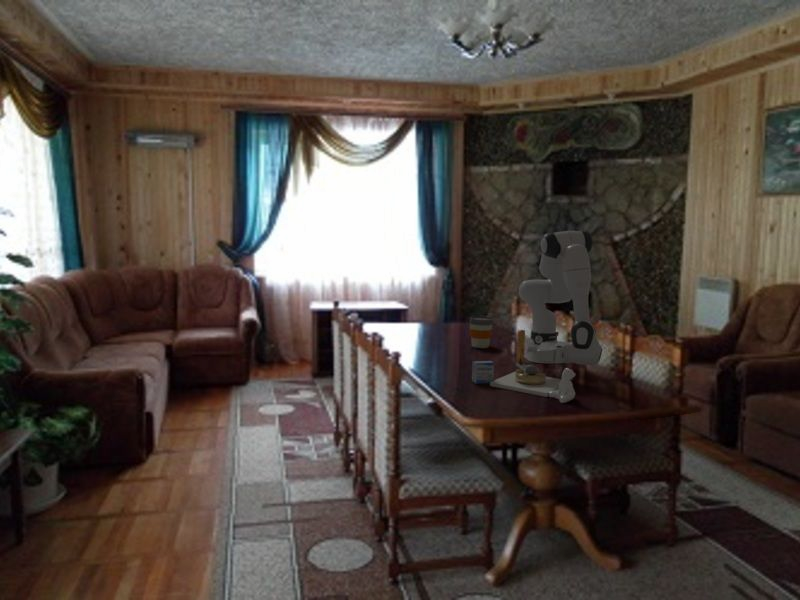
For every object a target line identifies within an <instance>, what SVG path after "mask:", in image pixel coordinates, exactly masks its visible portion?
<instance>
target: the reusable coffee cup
mask: <svg viewBox="0 0 800 600" xmlns="http://www.w3.org/2000/svg"><path fill="white" fill-rule="evenodd" d="M493 325H494V318H493V317H488V316H470V317H469V336H470V339H471V340H470V341H471V347H473V348H477V349H487V348H489V347H490V341H491V339H492V336H493V335H492V334H493Z"/></svg>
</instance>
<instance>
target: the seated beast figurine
mask: <svg viewBox="0 0 800 600" xmlns="http://www.w3.org/2000/svg"><path fill="white" fill-rule="evenodd" d="M562 371H563V372H561V378H560V379H561V382H560V383H559V390H558V391H551V392H549V396H548V397H549V398H551V399H552V398H553V399H555V400H556V399H557V400H559V402H560V404H561V403H562V404H565V403H567V402H570V401H573V400H574V398H575V396H576V395H577V394H576V392H575V388H574V387H573V386H574V384H573V383H572V381H571V380H572V379H573V378H575V377H576V372H574V371H573V369H571V368H569V367H565V368H564V370H562Z"/></svg>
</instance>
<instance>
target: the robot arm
mask: <svg viewBox="0 0 800 600" xmlns="http://www.w3.org/2000/svg"><path fill="white" fill-rule="evenodd" d="M592 248H593V237H592V236H591V234H590V232H588V231H585V230H564V231H556V232H547V233H545V234H543V235H542V237H541V239H540V250H541V257H540V262H539V266H538V269H539V272H540V274H541V275H542V276H543V277H544V278H546V279H529V280H523V281H522V282H521V283H520V285H519V288H518V294H519V297H520V299H521V300H522V301H523V302H524V303H526V305H527V306H528V307H529V309H530V312H531V317H532V324H531V325H532V327H531V329H532V330H531V331H530V340H529V341H528V342H527V346H526V347H527V349H526V354H524V359H526V360H527V361H528V362H532V363H537V364H548V365H549V364H550V365H551V364H576V365H582V366H583V365H584V366H594V365H597V364H598V363H599V362H600V361H601V358H602V357H601V356H602V354H603V347H602V345H601V344H600V342H599V340H598V337H597V333H596V332H597V330H596V327H595V326H594V324H593V323H592V321H591V315H590V306H589V294H590V289H591V282H592V269H591V261H590V257H589V253H590V252H591V250H592ZM571 300H572V304H573V316H574V322H573V325H572V326H571V329H570V336H571V341H559V340H558V336H559V334H560V333H559V331H557V319H558V318H557V315H556V314H555V313H554V312H553V311H551V310H550V309H547V308H546V304H563V303H569V302H570V301H571Z"/></svg>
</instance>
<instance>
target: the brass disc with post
mask: <svg viewBox="0 0 800 600" xmlns="http://www.w3.org/2000/svg"><path fill="white" fill-rule="evenodd" d="M525 339H526V330H525V329H518V330H517V341H516V343H517V344H516V345H517V346H516V358H515V359H516V361H515V366H516V367H518V368H516V369H515V371H516V377H515V381H516V382H518V383H521V384H526V385H542V384H545V382H546V377H547V374H546V373H544V372H542V371H540V368H536V374H527V373H526V365H527V364H526V363H524V361H525V360H524V359H525V358H524V355H525V341H526V340H525Z"/></svg>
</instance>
